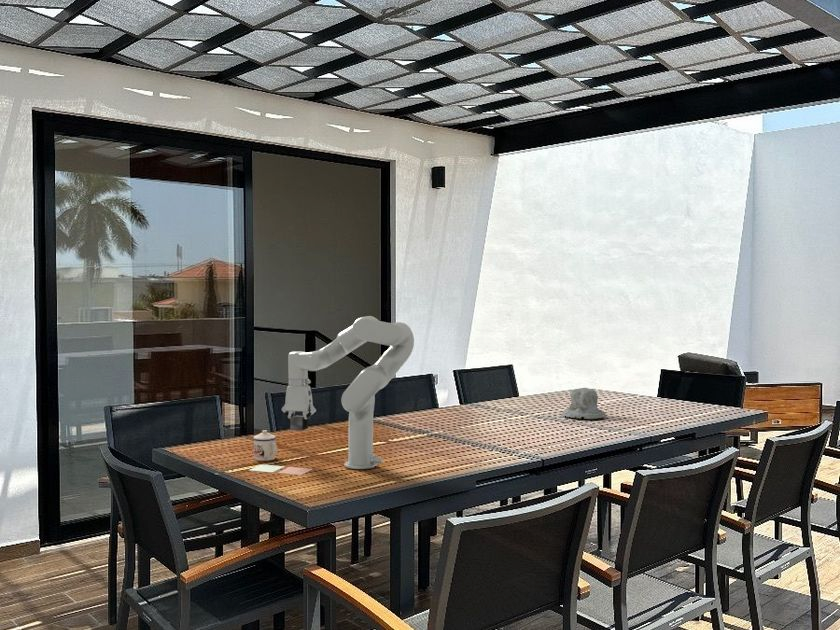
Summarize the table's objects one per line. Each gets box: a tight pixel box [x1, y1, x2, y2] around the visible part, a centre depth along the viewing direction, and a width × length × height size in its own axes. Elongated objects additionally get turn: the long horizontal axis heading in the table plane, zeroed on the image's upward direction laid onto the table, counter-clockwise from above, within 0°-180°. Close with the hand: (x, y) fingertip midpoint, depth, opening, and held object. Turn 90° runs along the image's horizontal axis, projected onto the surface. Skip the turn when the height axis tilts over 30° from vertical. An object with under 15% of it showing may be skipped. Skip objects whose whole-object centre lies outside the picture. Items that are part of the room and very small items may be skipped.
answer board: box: [249, 464, 314, 476], centre depth 303 cm, size 22×10×1 cm, turn 72°
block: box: [289, 415, 309, 432], centre depth 315 cm, size 5×5×5 cm
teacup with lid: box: [252, 429, 278, 462], centre depth 322 cm, size 12×9×12 cm
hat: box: [561, 387, 607, 420], centre depth 433 cm, size 26×23×15 cm
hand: (299, 428), depth 316 cm, fingers closed on block, 5 cm apart
